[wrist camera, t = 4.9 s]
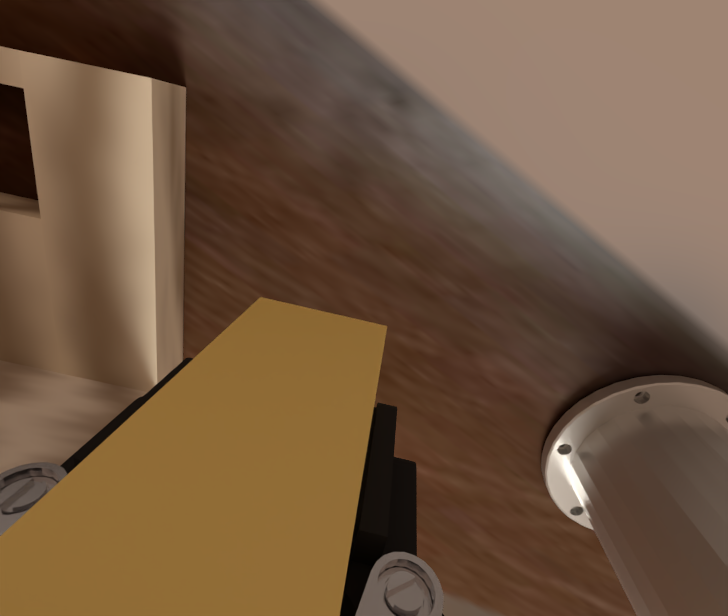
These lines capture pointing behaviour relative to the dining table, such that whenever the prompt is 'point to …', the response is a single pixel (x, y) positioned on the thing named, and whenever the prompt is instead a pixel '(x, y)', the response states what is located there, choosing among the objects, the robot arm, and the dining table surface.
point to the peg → (215, 484)
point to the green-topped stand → (89, 254)
